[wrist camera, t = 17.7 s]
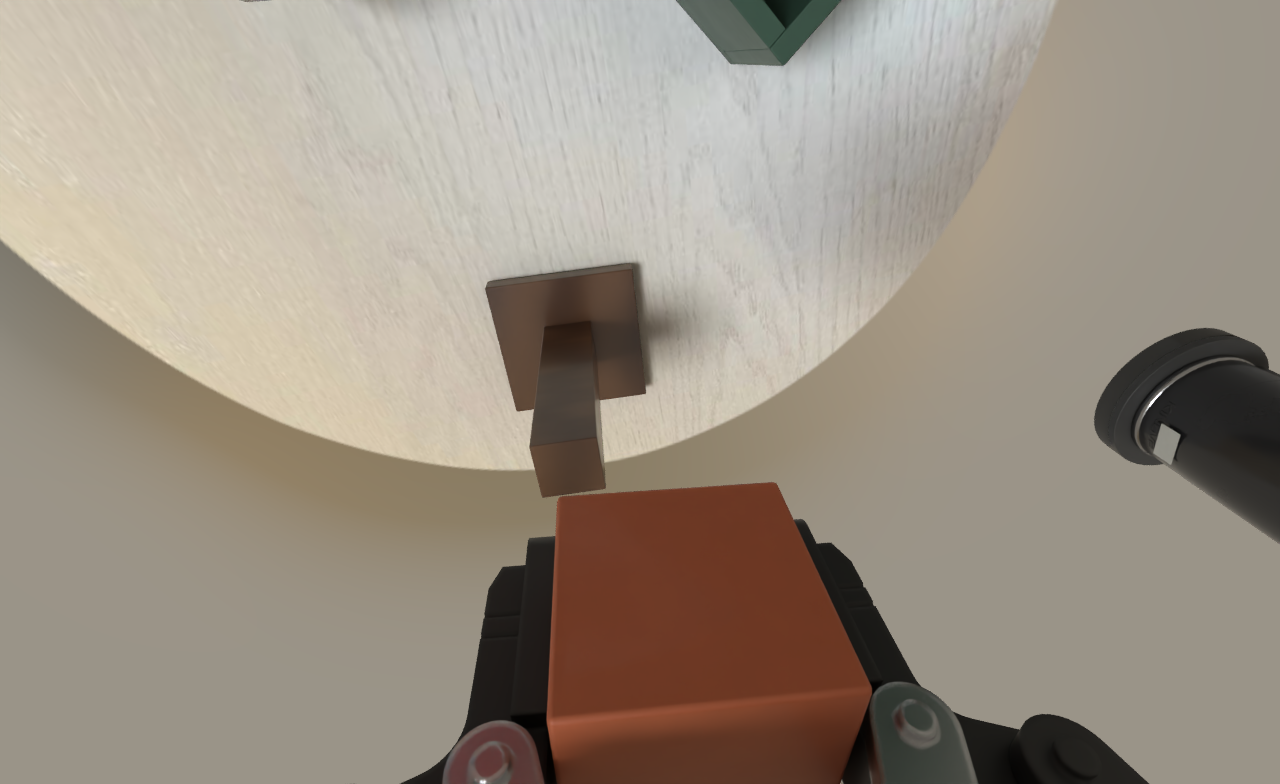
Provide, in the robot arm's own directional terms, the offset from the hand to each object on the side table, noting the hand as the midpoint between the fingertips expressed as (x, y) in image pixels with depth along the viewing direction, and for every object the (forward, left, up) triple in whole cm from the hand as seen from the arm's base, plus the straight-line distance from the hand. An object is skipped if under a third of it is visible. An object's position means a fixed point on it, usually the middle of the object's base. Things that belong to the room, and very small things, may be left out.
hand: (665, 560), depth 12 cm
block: (0, 0, 0) cm, 0 cm away
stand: (+3, +7, -26) cm, 27 cm away
